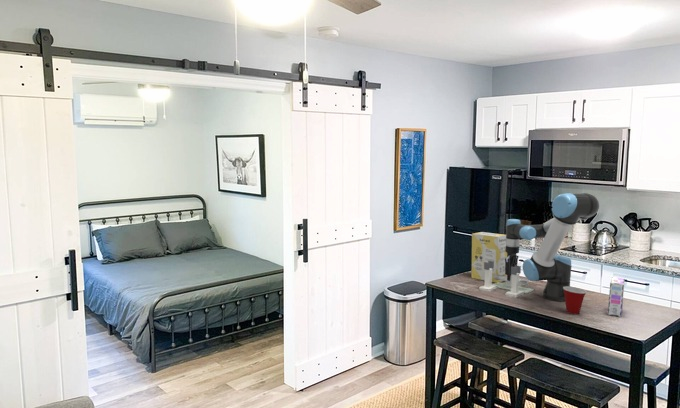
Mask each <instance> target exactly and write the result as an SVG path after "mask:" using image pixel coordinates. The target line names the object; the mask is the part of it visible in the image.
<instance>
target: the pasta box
mask: <svg viewBox="0 0 680 408" xmlns="http://www.w3.org/2000/svg"><path fill="white" fill-rule="evenodd" d="M505 240H506V234H503V233H502V234H501V233H492V232H485V231H480V232H475V233H473V232H472V233H471V279H476V280H481V281H485V269H484V262H488V261H493V262H494V268H493V269H492V268H491V269H492V283H498V282H500V283H503V281H502V280H496V279H494V278H493V276H494V274H497V275H502V276H507V275H505V258H507V255H508V253H507V252H505V247H506V246H507V245H506V241H505Z"/></svg>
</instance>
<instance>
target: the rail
mask: <svg viewBox="0 0 680 408" xmlns="http://www.w3.org/2000/svg"><path fill="white" fill-rule="evenodd" d="M493 278H494V279H496V280H502V282H507V276H502V275H497V274H494V276H493ZM529 281H530V280H528V279H523V278H519V285H522V286H523V285H524V286H529Z"/></svg>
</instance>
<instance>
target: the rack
mask: <svg viewBox="0 0 680 408" xmlns="http://www.w3.org/2000/svg"><path fill="white" fill-rule="evenodd" d="M491 268H492V269H493V268H494V262H493V261H488V262H484V269H485V280H484V285H481V286H479V287H478V290H479V291H483V292H487V293H488V292H492V291H494V290H496V289H498V288H497V286H495V285H492V284H493V282H492V269H491ZM521 270H522V265H518V264H517V265H515V267H511V274H512V281H511V290H508V291H507V292H505V295H504V296H506V297H511V298H518V297H521V296H523V295H524V294H525V293H524V291H519V286H520V284H519V279H520V274H521V272H522V271H521Z"/></svg>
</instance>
